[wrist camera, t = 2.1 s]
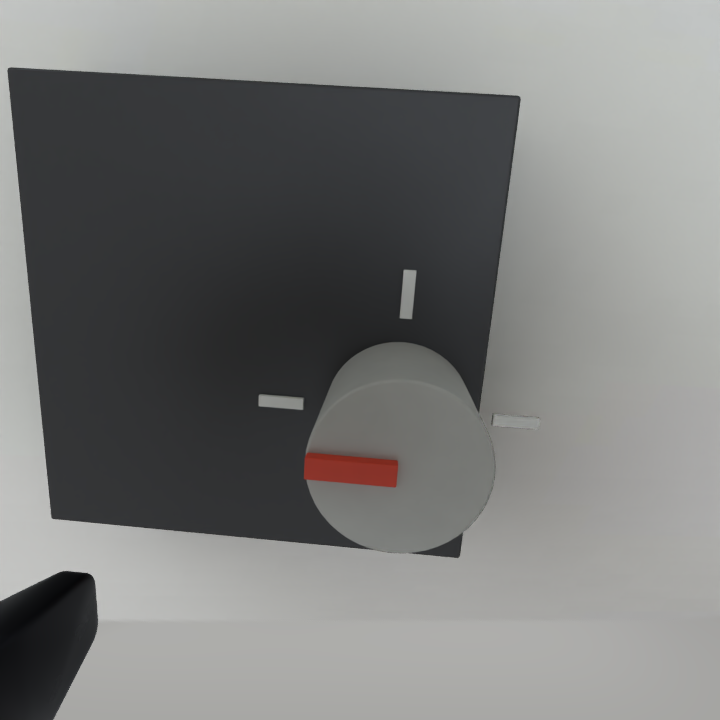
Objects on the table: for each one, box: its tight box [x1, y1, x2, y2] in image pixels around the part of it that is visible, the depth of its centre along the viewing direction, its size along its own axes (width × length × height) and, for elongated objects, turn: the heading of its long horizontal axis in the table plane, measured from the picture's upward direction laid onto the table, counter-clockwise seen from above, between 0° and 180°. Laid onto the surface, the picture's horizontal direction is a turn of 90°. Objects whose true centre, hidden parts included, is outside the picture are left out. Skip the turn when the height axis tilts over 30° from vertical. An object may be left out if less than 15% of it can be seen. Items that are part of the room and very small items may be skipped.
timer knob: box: [304, 342, 496, 553], centre depth 13 cm, size 4×4×4 cm
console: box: [8, 68, 540, 558], centre depth 16 cm, size 14×16×3 cm
